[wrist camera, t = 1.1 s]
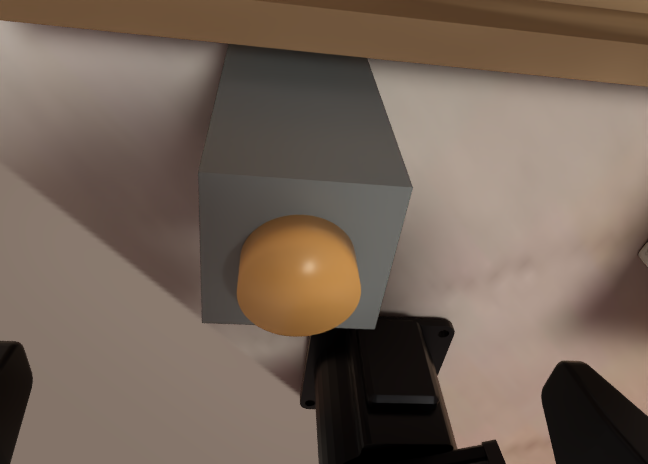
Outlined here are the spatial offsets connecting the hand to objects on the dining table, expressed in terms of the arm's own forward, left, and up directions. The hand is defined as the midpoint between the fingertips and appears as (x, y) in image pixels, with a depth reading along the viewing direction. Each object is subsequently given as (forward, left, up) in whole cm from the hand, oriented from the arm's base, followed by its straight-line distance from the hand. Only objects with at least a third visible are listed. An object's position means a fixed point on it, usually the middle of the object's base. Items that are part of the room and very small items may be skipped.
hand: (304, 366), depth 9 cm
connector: (0, 0, -11) cm, 11 cm away
